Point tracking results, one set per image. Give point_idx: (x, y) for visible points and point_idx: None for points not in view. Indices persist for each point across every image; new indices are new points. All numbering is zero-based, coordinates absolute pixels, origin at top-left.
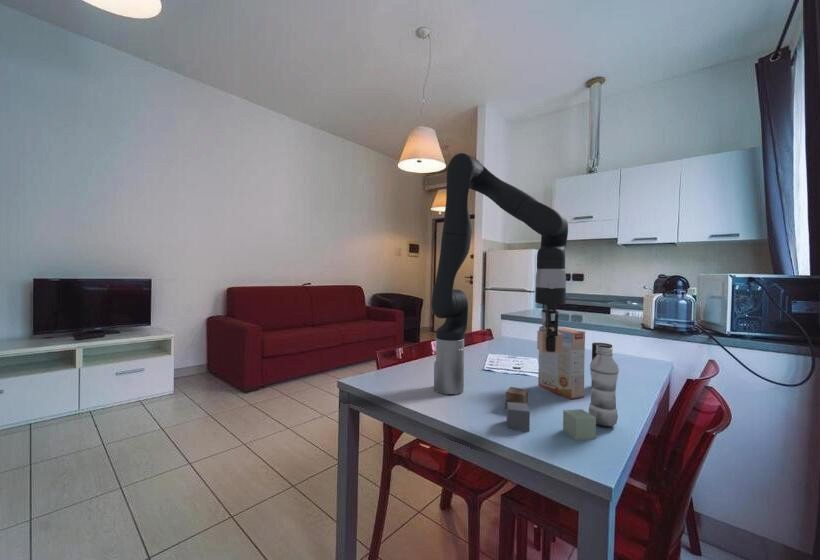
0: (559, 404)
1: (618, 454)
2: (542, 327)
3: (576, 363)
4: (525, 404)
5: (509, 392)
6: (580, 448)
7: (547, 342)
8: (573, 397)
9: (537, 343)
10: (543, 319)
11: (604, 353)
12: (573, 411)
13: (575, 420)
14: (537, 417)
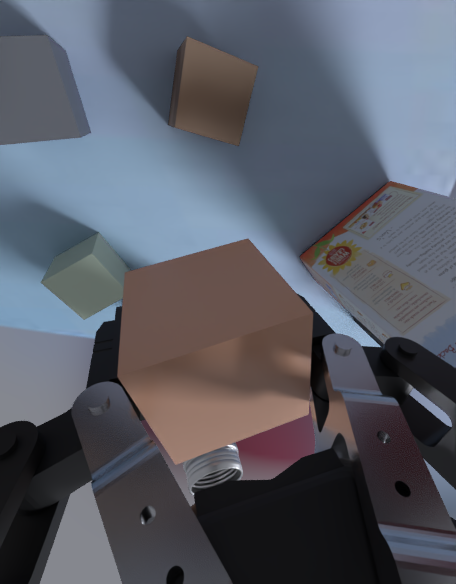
0: (263, 230)
1: (39, 322)
2: (399, 348)
3: (360, 315)
4: (67, 129)
5: (184, 57)
6: (11, 263)
7: (112, 352)
8: (303, 262)
9: (256, 255)
10: (210, 569)
11: (183, 466)
12: (97, 276)
13: (45, 277)
14: (150, 169)
